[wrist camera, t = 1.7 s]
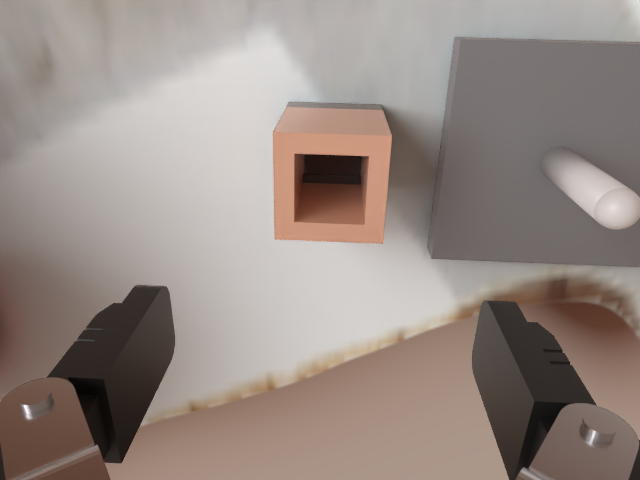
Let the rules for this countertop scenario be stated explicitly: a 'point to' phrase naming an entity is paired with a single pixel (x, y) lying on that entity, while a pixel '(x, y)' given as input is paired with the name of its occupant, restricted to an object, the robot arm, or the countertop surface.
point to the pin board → (540, 153)
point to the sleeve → (331, 190)
